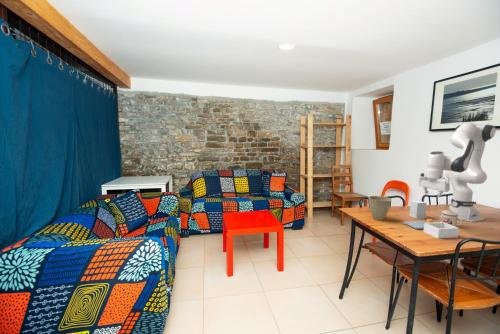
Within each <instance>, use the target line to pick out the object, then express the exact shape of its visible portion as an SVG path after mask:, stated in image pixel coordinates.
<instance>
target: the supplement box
mask: <svg viewBox="0 0 500 334" xmlns="http://www.w3.org/2000/svg"><path fill="white" fill-rule="evenodd" d="M427 203H428V202H424V201H422V200H410V206H409V217H410V218H411V217H412V218H413V219H417V220H425V219H426V216H427V214H426V213H427V205H428V204H427Z"/></svg>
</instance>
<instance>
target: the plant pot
mask: <svg viewBox="0 0 500 334" xmlns="http://www.w3.org/2000/svg"><path fill="white" fill-rule="evenodd" d="M391 203H392V199H391V197H390V198H389V197H386V196H382V195H369V196H368V204H369V205H368V206H369V209H370V214H371V216H372V218H373V220H376V221H383V220H385V219H386V217H387V214H388V212H389V209H390V207H391Z"/></svg>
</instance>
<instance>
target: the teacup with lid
mask: <svg viewBox="0 0 500 334" xmlns="http://www.w3.org/2000/svg"><path fill="white" fill-rule="evenodd" d="M459 219H460V222H459V223H458V222H457V221H458V220H459ZM440 222H444V223H447V224H450V225H452V226H455V227H457V226H460V225H462V224H463V220H462V219H461V218H458V214H457V213H454V212H453V211H452V210H451V209H449V208H448V209H447V210H442V211H441V212H440Z"/></svg>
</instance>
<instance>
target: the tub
mask: <svg viewBox="0 0 500 334" xmlns="http://www.w3.org/2000/svg"><path fill="white" fill-rule="evenodd" d="M423 233H425V234H428V235H429V236H432V237H434V238H436V239H452V238H459V233H460V228H459V227H457V226H456V227H455V226H452V225H450V224H447V223H444V222H439V221H438V222H437V221H436V222H433V223H426V222H425V223H424V229H423Z"/></svg>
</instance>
